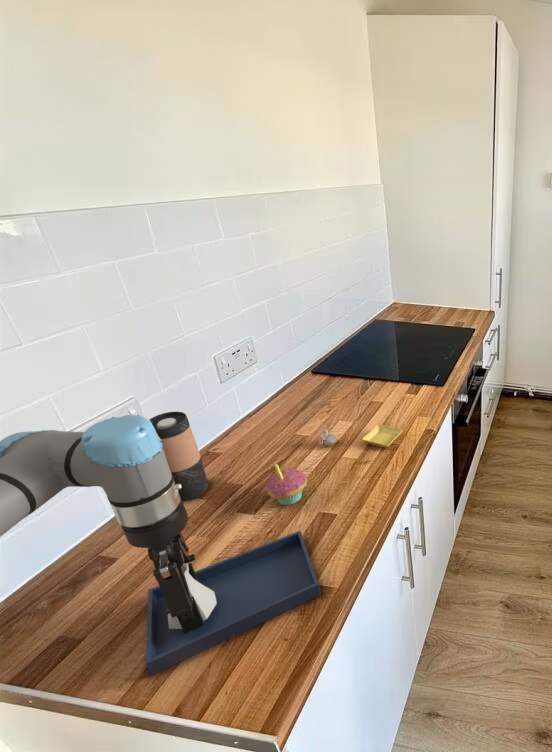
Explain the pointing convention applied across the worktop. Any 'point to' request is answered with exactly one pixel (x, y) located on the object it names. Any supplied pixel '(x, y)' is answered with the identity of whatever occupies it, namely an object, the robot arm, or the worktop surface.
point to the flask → (196, 599)
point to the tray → (234, 599)
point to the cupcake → (286, 485)
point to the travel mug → (181, 453)
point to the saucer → (382, 435)
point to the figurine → (327, 438)
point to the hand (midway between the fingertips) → (193, 609)
